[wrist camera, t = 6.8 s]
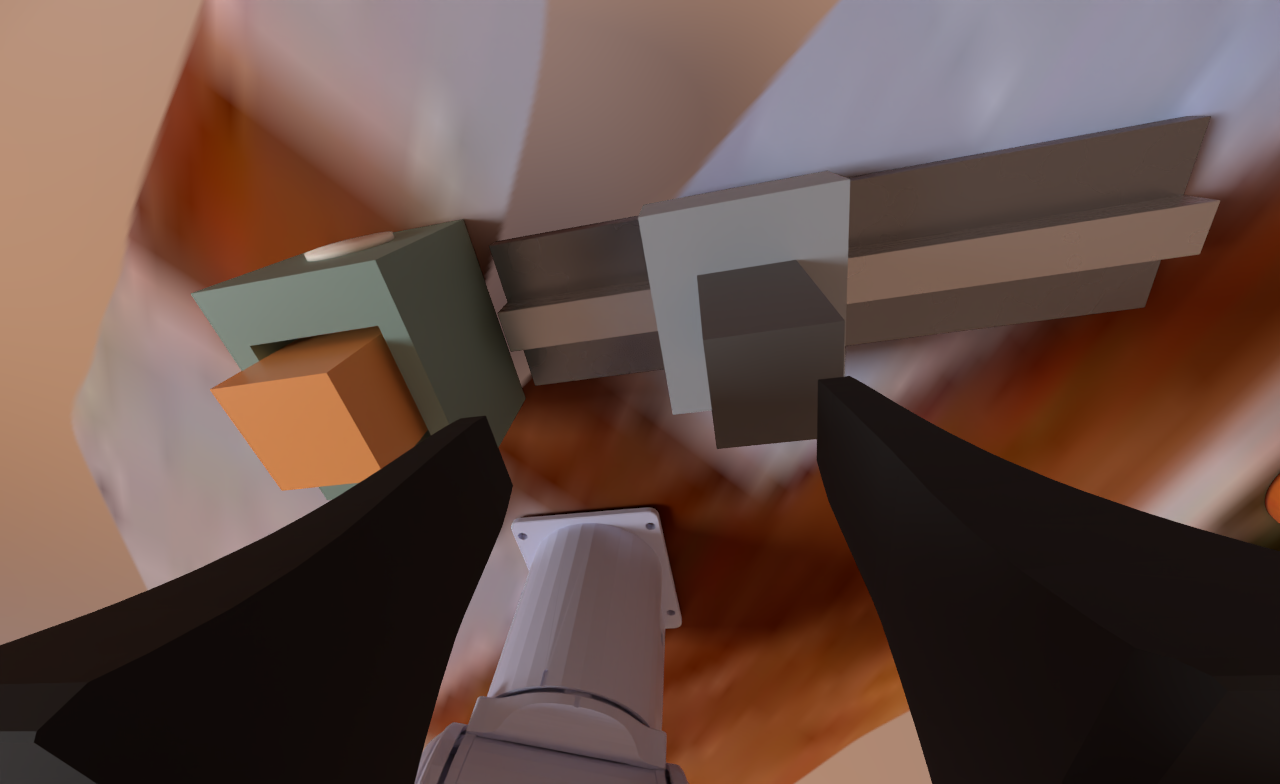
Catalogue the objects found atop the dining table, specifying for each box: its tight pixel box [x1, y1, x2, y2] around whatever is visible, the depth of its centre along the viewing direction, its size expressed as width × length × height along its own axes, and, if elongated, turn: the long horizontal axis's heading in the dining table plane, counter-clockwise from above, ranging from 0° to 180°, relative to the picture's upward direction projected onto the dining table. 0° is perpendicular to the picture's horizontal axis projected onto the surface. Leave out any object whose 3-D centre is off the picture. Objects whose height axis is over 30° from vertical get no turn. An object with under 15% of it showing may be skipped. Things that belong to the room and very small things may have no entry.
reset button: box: [210, 326, 428, 490], centre depth 15 cm, size 4×4×4 cm
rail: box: [489, 116, 1220, 386], centre depth 17 cm, size 6×23×2 cm, turn 101°
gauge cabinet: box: [191, 219, 526, 500], centre depth 18 cm, size 8×6×6 cm
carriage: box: [638, 171, 850, 449], centre depth 14 cm, size 7×6×7 cm
